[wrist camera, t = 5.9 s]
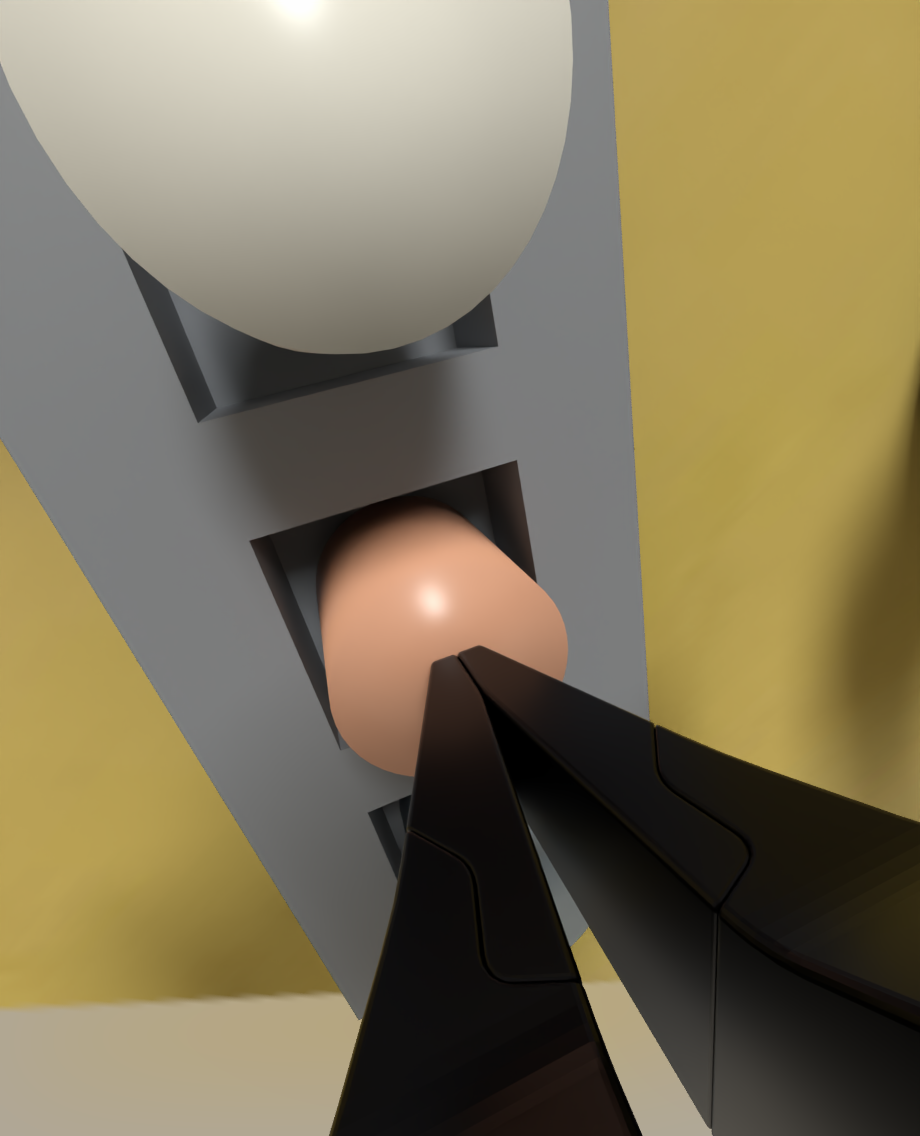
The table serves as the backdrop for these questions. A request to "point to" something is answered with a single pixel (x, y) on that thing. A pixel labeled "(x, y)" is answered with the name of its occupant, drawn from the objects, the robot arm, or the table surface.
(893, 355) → the table surface
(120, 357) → the grey socket tray
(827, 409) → the table surface
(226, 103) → the white short cylinder
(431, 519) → the peach rounded piece
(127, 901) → the table surface
